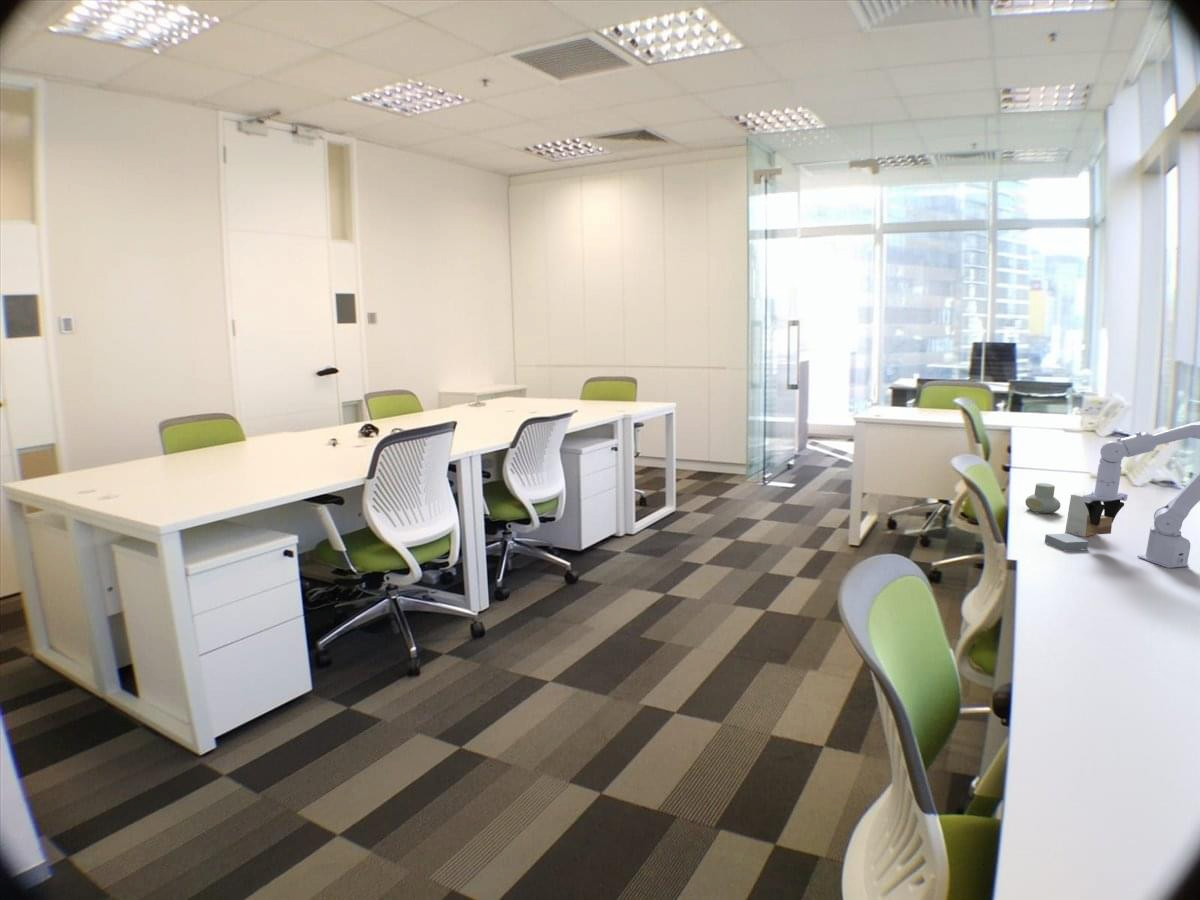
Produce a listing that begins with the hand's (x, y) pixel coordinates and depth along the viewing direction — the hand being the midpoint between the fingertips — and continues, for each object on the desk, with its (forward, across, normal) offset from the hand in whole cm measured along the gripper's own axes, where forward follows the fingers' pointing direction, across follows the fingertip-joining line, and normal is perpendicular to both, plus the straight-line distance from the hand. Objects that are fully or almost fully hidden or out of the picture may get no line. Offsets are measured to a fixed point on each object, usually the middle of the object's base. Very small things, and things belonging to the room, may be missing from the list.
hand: (1101, 524), depth 222 cm
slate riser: (+9, +6, -5) cm, 12 cm away
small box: (+8, -10, -15) cm, 20 cm away
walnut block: (+3, 0, 0) cm, 3 cm away
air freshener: (+8, -18, -39) cm, 44 cm away
